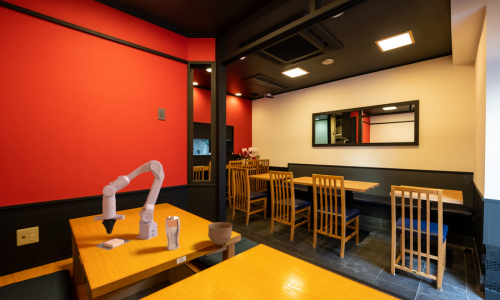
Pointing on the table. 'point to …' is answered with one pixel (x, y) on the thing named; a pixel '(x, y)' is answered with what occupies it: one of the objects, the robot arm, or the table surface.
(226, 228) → the bowl
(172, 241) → the beer glass
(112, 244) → the block
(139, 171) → the robot arm
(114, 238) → the mat
